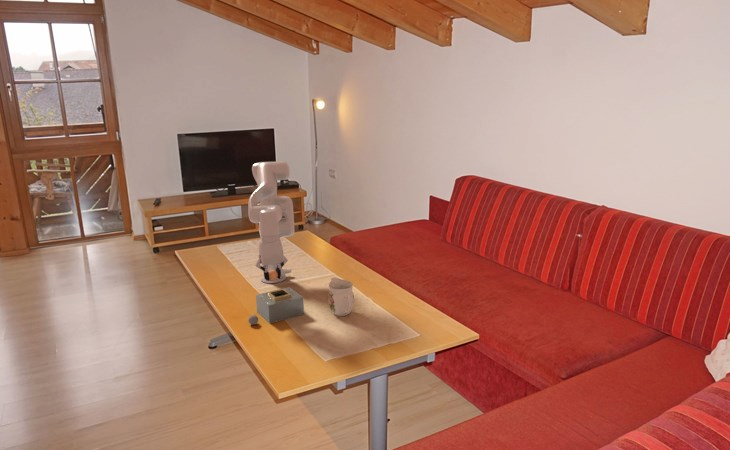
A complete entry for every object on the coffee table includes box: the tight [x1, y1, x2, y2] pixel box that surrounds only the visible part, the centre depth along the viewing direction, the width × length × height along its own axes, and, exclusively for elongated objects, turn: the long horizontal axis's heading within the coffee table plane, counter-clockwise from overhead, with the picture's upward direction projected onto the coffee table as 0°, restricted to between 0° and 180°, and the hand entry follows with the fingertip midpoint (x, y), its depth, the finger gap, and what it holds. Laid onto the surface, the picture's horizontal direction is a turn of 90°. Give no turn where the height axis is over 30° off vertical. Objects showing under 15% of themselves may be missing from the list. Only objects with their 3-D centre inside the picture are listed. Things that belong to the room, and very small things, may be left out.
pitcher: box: [327, 277, 355, 317], centre depth 233 cm, size 11×18×14 cm, turn 27°
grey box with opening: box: [255, 286, 305, 324], centre depth 235 cm, size 16×14×9 cm
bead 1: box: [248, 314, 259, 326], centre depth 225 cm, size 4×4×4 cm
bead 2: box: [269, 270, 278, 280], centre depth 232 cm, size 4×4×4 cm
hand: (272, 278), depth 233 cm, fingers closed on bead 2, 4 cm apart
